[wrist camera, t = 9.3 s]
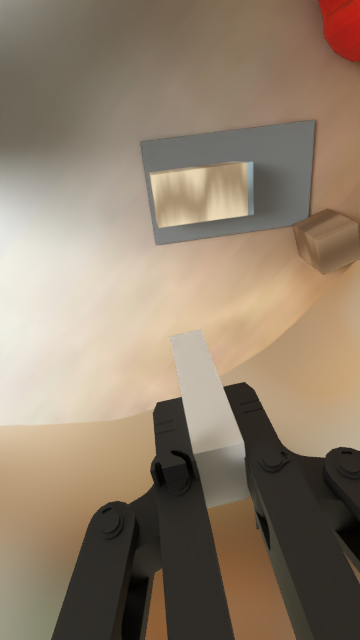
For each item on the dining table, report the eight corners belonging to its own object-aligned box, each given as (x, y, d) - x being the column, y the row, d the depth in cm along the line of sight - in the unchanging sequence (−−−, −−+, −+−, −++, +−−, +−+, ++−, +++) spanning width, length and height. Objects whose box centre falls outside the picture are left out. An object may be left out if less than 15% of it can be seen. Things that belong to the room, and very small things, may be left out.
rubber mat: (140, 141, 34) (140, 141, 34) (313, 120, 35) (315, 119, 35) (155, 244, 39) (155, 245, 39) (306, 222, 40) (307, 223, 40)
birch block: (238, 160, 36) (149, 172, 35) (253, 161, 31) (151, 175, 31) (240, 207, 38) (156, 219, 38) (253, 214, 34) (158, 227, 33)
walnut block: (292, 224, 40) (317, 240, 35) (327, 208, 39) (357, 223, 34) (299, 255, 42) (323, 274, 37) (331, 240, 42) (360, 258, 37)
